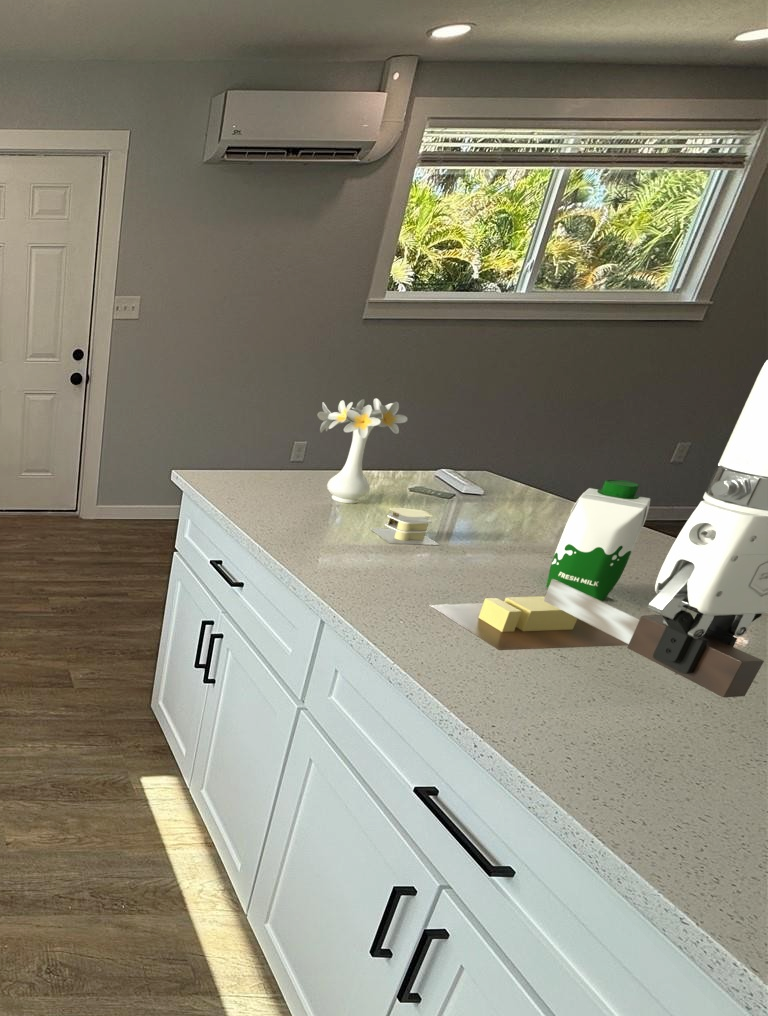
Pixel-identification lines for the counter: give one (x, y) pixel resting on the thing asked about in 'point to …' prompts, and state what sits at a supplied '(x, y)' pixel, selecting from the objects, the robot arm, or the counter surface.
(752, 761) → the counter surface
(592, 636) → the cutting board
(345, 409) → the flower vase
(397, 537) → the stacked layers on plate
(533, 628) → the butter stick
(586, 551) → the milk carton
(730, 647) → the knife
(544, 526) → the counter surface
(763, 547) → the robot arm
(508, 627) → the butter pat
